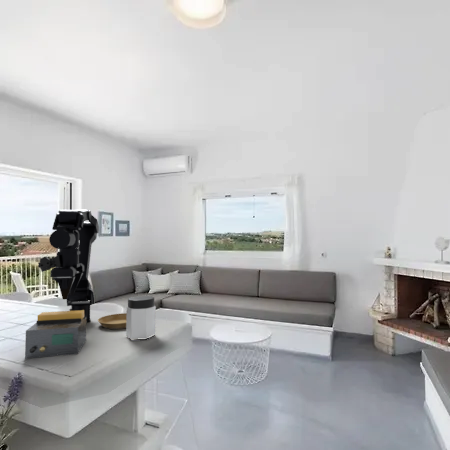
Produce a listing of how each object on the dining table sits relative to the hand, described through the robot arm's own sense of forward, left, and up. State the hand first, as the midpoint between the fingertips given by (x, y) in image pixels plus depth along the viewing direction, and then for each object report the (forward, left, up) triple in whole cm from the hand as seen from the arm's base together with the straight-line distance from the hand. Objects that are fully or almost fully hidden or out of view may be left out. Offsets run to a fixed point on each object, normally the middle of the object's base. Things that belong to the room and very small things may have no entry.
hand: (68, 296), depth 102 cm
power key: (+2, +10, -5) cm, 12 cm away
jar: (-20, +14, -12) cm, 27 cm away
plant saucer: (-17, -4, -12) cm, 22 cm away
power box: (+3, +14, -12) cm, 18 cm away
